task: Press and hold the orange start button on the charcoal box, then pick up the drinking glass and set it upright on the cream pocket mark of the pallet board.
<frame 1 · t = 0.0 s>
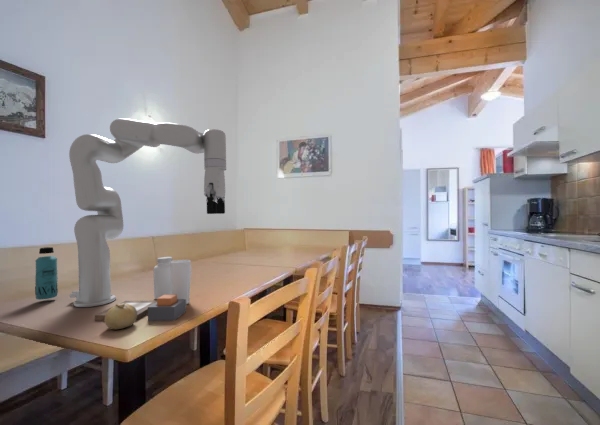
hand: (216, 213, 108), 31 cm above the table, tool pointing down, fingers open, 9 cm apart
pill bottle: (165, 297, 115), on the table
onion: (121, 327, 85), on the table
pallet: (131, 312, 98), on the table
start button: (167, 301, 93), point 5 cm above the table, slide at 0.0 cm
beverage bottle: (47, 301, 113), on the table
button housing: (167, 315, 93), on the table
drinking glass: (181, 304, 106), on the table
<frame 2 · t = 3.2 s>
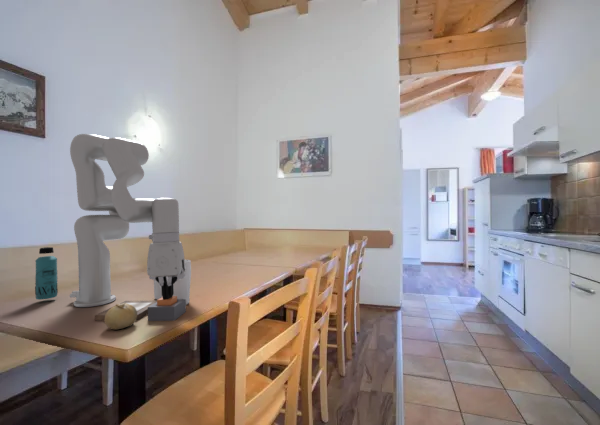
hand: (167, 297, 93), 6 cm above the table, tool pointing down, fingers closed
start button: (167, 302, 93), point 4 cm above the table, slide at 0.5 cm, touching gripper
everything else where it was.
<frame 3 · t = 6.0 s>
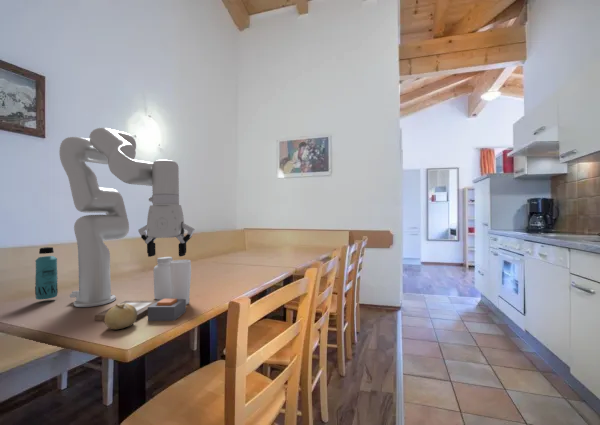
hand: (166, 255, 94), 18 cm above the table, tool pointing down, fingers open, 9 cm apart
start button: (167, 305, 93), point 3 cm above the table, slide at 1.2 cm
everything else where it was.
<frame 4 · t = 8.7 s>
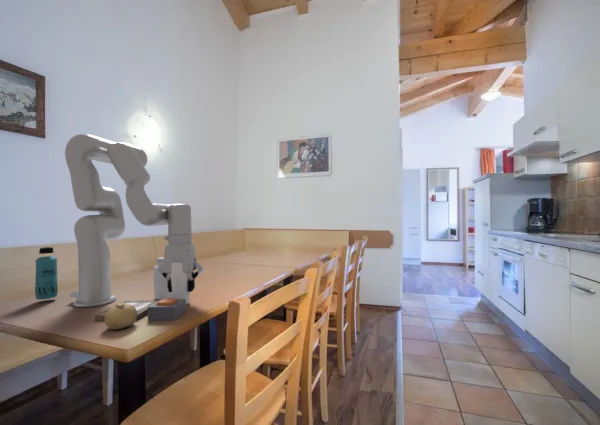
hand: (181, 290, 106), 5 cm above the table, tool pointing down, fingers closed on drinking glass, 6 cm apart
drinking glass: (181, 304, 106), on the table, touching gripper
everything else where it was.
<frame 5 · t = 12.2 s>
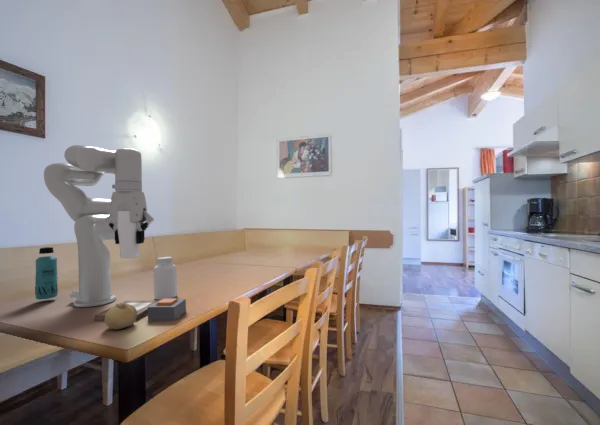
hand: (129, 242, 98), 22 cm above the table, tool pointing down, fingers closed on drinking glass, 6 cm apart
drinking glass: (129, 257, 98), point 17 cm above the table, touching gripper
everything else where it was.
when the fingers open (7 cm above the table, at t = 15.5 s): drinking glass stays where it is, resting on pallet.
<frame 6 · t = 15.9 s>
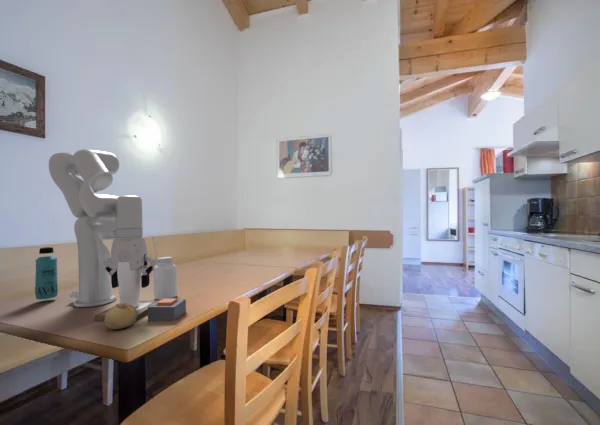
hand: (130, 286, 98), 8 cm above the table, tool pointing down, fingers open, 9 cm apart
drinking glass: (130, 307, 98), point 1 cm above the table, touching pallet
everything else where it was.
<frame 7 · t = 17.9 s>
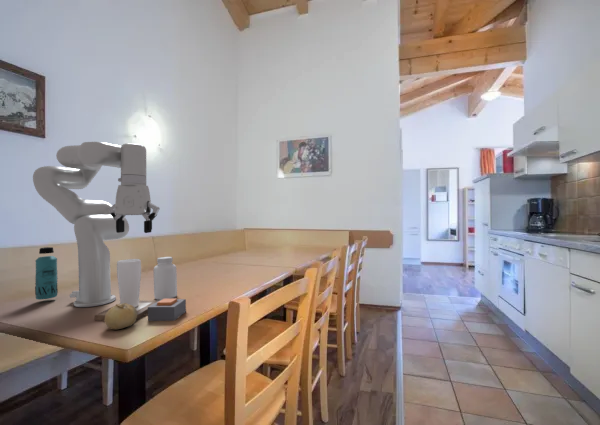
hand: (134, 232, 102), 25 cm above the table, tool pointing down, fingers open, 9 cm apart
nothing on the table moved.
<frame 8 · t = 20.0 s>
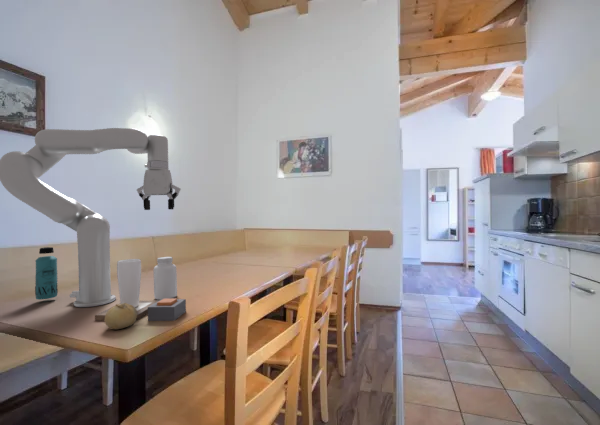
hand: (159, 209, 121), 33 cm above the table, tool pointing down, fingers open, 9 cm apart
nothing on the table moved.
at the end: start button slide at 1.2 cm; drinking glass 0.3 cm off-centre on the pallet, point 1.5 cm above the pallet's base; drinking glass tilted 0° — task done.
